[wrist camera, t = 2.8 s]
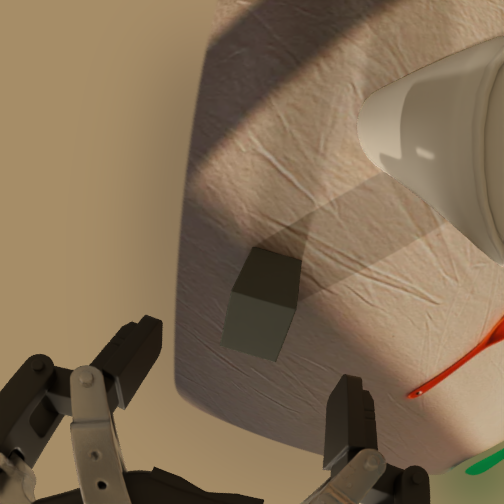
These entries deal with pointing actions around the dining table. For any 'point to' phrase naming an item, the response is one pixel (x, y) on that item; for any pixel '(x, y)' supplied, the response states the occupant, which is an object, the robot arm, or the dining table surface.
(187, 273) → the dining table surface
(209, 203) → the dining table surface
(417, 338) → the dining table surface
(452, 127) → the beverage can
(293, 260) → the dark gray rectangular block
